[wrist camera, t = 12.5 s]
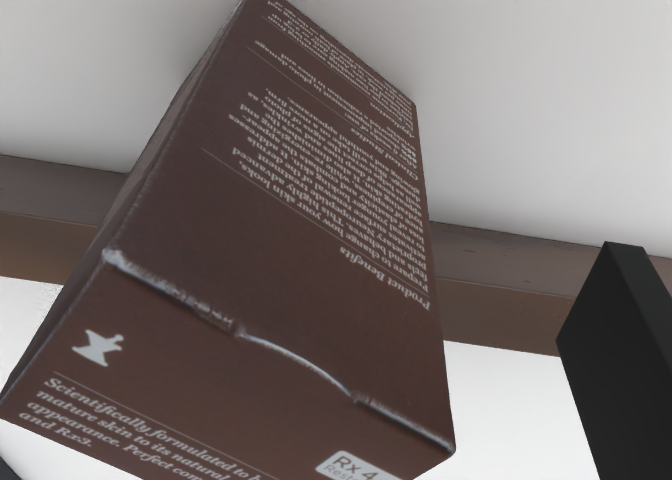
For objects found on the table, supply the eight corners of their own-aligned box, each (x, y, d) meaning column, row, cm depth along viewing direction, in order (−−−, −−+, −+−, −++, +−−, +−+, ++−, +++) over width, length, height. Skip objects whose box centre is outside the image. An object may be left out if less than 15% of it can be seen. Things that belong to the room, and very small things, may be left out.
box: (173, 96, 19) (-30, 421, 9) (258, -28, 17) (109, 227, 7) (331, 205, 21) (299, 566, 11) (425, 107, 19) (483, 448, 9)
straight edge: (-136, 133, 20) (-205, 180, 18) (842, 284, 22) (901, 346, 20) (-117, 198, 22) (-178, 250, 19) (801, 336, 24) (850, 399, 21)
